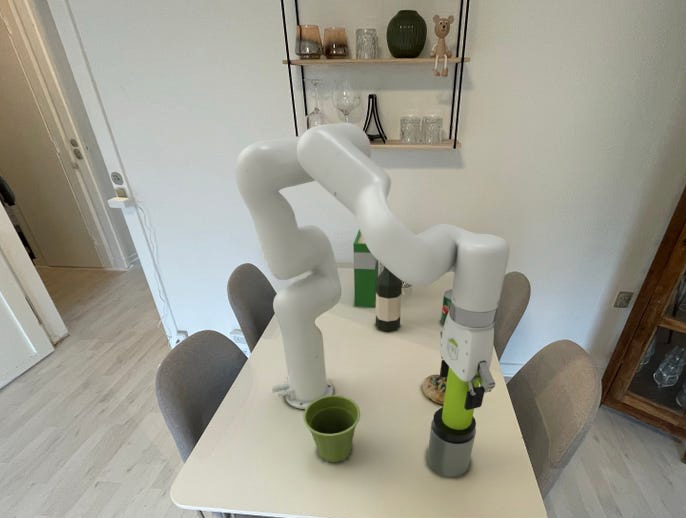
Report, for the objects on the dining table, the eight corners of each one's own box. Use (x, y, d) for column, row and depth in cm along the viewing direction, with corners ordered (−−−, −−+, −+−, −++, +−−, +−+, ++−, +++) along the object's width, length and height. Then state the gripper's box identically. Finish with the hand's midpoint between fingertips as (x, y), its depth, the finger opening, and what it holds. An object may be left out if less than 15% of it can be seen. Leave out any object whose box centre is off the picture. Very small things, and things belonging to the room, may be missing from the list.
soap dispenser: (431, 415, 78) (442, 332, 67) (459, 405, 80) (474, 323, 69) (448, 435, 73) (462, 349, 62) (477, 424, 76) (495, 339, 65)
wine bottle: (400, 320, 134) (404, 236, 118) (399, 332, 128) (403, 245, 111) (376, 319, 135) (377, 235, 119) (374, 331, 128) (375, 244, 112)
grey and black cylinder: (438, 481, 79) (444, 441, 72) (420, 449, 86) (424, 410, 79) (476, 471, 81) (486, 430, 74) (456, 440, 88) (463, 401, 81)
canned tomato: (468, 326, 131) (472, 297, 125) (448, 330, 129) (452, 301, 123) (455, 315, 137) (459, 287, 131) (436, 320, 135) (439, 291, 129)
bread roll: (468, 385, 104) (470, 372, 101) (454, 414, 97) (455, 401, 94) (430, 374, 109) (430, 361, 106) (414, 400, 102) (413, 387, 99)
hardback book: (360, 286, 158) (359, 228, 145) (378, 287, 158) (378, 229, 144) (354, 306, 143) (353, 243, 130) (374, 307, 143) (375, 244, 130)
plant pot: (297, 450, 86) (291, 413, 79) (337, 423, 93) (335, 387, 86) (331, 482, 79) (328, 444, 72) (372, 450, 86) (372, 413, 79)
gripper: (429, 292, 69) (422, 368, 79) (480, 342, 55) (464, 426, 65) (466, 287, 71) (455, 361, 80) (524, 334, 57) (502, 417, 67)
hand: (459, 390), depth 73 cm, fingers open, 9 cm apart
